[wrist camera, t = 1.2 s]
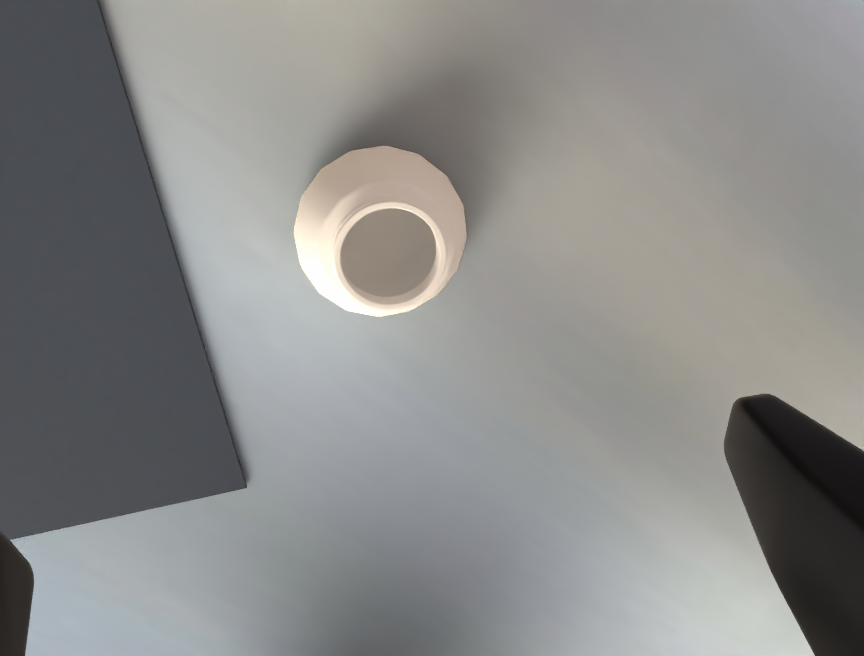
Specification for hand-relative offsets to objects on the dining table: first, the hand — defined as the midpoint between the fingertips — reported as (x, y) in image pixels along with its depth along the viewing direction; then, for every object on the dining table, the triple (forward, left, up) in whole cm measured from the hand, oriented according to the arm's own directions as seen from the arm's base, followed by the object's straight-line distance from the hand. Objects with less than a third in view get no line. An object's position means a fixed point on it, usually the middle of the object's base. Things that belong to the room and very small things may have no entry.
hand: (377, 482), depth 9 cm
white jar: (-1, -1, -14) cm, 14 cm away
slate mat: (-1, +11, -13) cm, 17 cm away
